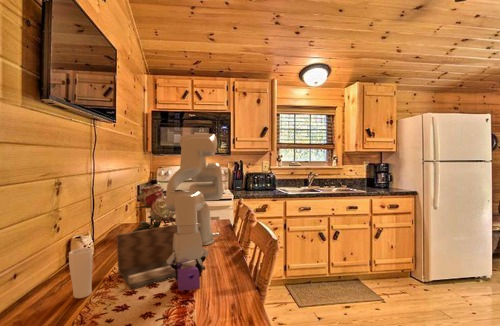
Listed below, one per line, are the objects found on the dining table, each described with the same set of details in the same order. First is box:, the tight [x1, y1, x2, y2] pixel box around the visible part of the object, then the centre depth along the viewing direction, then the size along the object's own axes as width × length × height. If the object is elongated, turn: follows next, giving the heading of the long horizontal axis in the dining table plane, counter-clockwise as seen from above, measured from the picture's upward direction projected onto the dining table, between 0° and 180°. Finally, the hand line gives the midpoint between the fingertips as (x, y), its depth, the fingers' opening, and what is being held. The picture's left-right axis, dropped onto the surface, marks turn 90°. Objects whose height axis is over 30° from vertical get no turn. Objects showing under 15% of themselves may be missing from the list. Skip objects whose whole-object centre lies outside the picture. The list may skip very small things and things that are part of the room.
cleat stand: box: [116, 223, 206, 290], centre depth 118 cm, size 28×21×15 cm
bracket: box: [176, 267, 201, 292], centre depth 105 cm, size 12×7×7 cm, turn 19°
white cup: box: [68, 247, 94, 299], centre depth 98 cm, size 7×7×15 cm
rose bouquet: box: [132, 183, 176, 232], centre depth 181 cm, size 26×29×30 cm
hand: (189, 277), depth 105 cm, fingers closed on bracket, 6 cm apart
